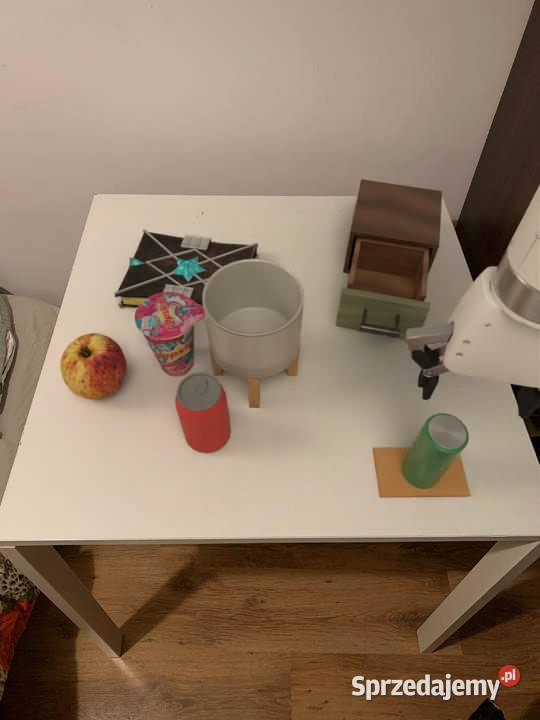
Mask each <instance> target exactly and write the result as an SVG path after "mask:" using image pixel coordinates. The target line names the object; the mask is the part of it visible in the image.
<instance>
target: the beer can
mask: <svg viewBox="0 0 540 720" xmlns="http://www.w3.org/2000/svg"><path fill="white" fill-rule="evenodd" d="M174 399H175V400H174V404H175V410H176V414H177V416H178V420H179V423H180V426H181V429H182V433H183V435H184V436H183V437H184V439H185V441H186V443H187V445H188V447H190V448H191V449H192V450H194V451H195V452H198V453H202V454H203V453H204V454H210V453H214V452H217V451H219V450H221V449H222V448H223V447H225V445H226V444H227V443H228V441H229V440H230V437H231V432H232V430H231V421H230V413H229V405H228V398H227V392H226V390H225V388H224V387H223V385H222V383H220V380H219V379H218V378H217V377H216V376H215V375H214V374H210V373H208V372H203V371H202V372H201V371H198V372H193V373H191V374H189V375H186V376H185V377H184V378H183V379H181V381H180V382H179V384H178V386H177V388H176V394H175V398H174Z"/></svg>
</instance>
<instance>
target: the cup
mask: <svg viewBox="0 0 540 720" xmlns="http://www.w3.org/2000/svg"><path fill="white" fill-rule="evenodd" d="M203 318H205V314H204V309H203V308H202V307H201V306H200V305H198V304H197V303H196V302H194V301H193V300H191V299H190V298H188V297H187V296H185V295H183V294H180V293H176V292H162V293H158V294H154V295H152V296H150V297H148V298H146V299H145V300H144V301H143V302H142V303H141V304H140V305H139V306H138V307H136V310H135V312H134V322H135V325H136V328H137V329H138V330H139V331H140V332H141V333H142V335H143V336H144V338H145V341H146V343H147V344H148V346H149V348H150V350H151V351H152V353H153V355H154V357H155V359H156V360H157V361H158V363H159V365H160V367H161V368H162V369H161V370H163V372H164V373H165V374H167V375H168V376H171V377H181V376H185V375H186V374H188V373H189V372H190V371H192V369H193V368H194V364H195V325H196V324H197V323H198V322H199V321H201V320H202V319H203Z"/></svg>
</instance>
